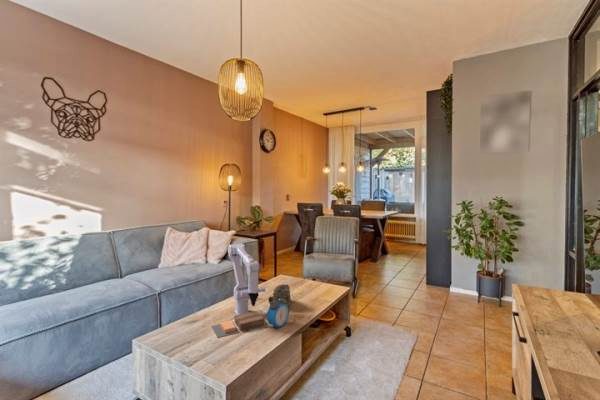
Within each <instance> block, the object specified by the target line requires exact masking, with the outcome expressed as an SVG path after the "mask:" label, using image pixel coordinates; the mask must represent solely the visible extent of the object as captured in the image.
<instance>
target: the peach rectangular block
mask: <svg viewBox="0 0 600 400" xmlns="http://www.w3.org/2000/svg"><path fill="white" fill-rule="evenodd" d="M232 322H233V321H232V320H228V321H223V322H220V324H221V328H222V329H223V331H224V333H228V332H232V331H236V327H237V326H236V325H235V326H236V327H235V326H234V324H235V323H234V322H233V323H234V324H233V323H232Z"/></svg>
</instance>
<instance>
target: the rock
mask: <svg viewBox="0 0 600 400" xmlns="http://www.w3.org/2000/svg"><path fill="white" fill-rule="evenodd" d="M280 298H283V299H285V300H286V303H284V304H286V305H287V306H288V307H290V306H292V298H291V290H290V285H288V284H285V283H283V284H279V285H277V286H276V287H275V288H274V289H273V293H272V296H269V297H268V303H269V304H271V302H273V301H278V300H279V299H280ZM278 302H280V301H278ZM282 303H283V302H282Z"/></svg>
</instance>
